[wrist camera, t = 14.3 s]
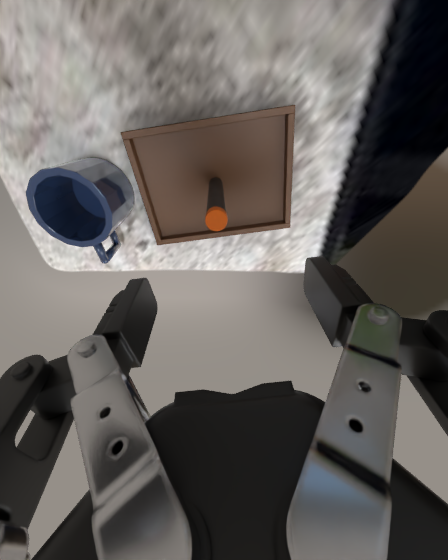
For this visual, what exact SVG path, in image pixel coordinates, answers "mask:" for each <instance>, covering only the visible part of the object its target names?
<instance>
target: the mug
mask: <svg viewBox="0 0 448 560" xmlns="http://www.w3.org/2000/svg"><path fill="white" fill-rule="evenodd" d="M26 197H27V201H28V206H29V210H30V211H31V213H32V214H33V216H34V218H35V219H36V221H37V222H38V224H39V225H40V226H41V227H42V228H43V229H45V230H46V231H47V232H48V233H49V234H50V235H51V236H53V237H55V238H57V239H59V240H61V241H62V242H64V243H66V244H69V245H74V246H79V247H88V246H93V247H94V249H95V251H96V252H97V254H98V256H99V258H100V260H101V262H102V263H108V262H109V261H110V259H111V258H112V257H113V255H114V254H115V253H116V251H117V250H118V249H119V248H120V246H121V243H120V241H119V238H118V236H117V234H116V231H115V229H116V228H117V227H118V226H119V225H120V224H121V223H122V222H123V221H124V220H125V218H126V217H127V216H128V215H129V213H130V212H131V210H132V208H133V204H134V193H133V189H132V186H131V184H130V182H129V180H128V179H127V177H126V176H125V174H124V173H123V172H122V171H121V170H120V169H119V168H118V167H116V166H115V165H114V164H112V163H110V162H108V161H106V160H104V159H100V158H94V157H90V158H84V159H78V160H75V161H71V162H67V163H64V164H60V165H56V166H52V167H49V168H45V169H41V170H40V171H38V172H37V173H36V174H35V175H34V176H32V177H31V178H30V180H29V183H28V187H27V190H26ZM109 236H110V238H111V241H112V243H113V244H112V245H111V246H110V248H109V249H108V250H107V251H105V249H104V247H103V245H102V243H101V242H102V241H104V240H105V239H107V238H108V237H109Z"/></svg>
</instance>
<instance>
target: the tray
mask: <svg viewBox="0 0 448 560" xmlns="http://www.w3.org/2000/svg"><path fill="white" fill-rule="evenodd" d="M294 119H295V105H290V106H284V107H278V108H271V109H265V110H259V111H252V112H246V113H240V114H233V115H227V116H221V117H215V118H208V119H202V120H196V121H189V122H183V123H177V124H170V125H164V126H158V127H151V128H145V129H139V130H132V131H126V132H121V136H122V139H123V142H124V145H125V148H126V151H127V154H128V157H129V160H130V163H131V166H132V169H133V172H134V175H135V178H136V181H137V184H138V187H139V190H140V193H141V196H142V199H143V203H144V206H145V209H146V212H147V215H148V218H149V221H150V224H151V227H152V230H153V233H154V236H155V239H156V242H157V245H163V244H170V243H178V242H185V241H193V240H200V239H208V238H215V237H223V236H230V235H238V234H246V233H253V232H261V231H268V230H276V229H283V228H290V215H291V191H292V167H293V143H294ZM215 177H217V178H219V179H221V181H222V183H223V191H224V199H225V207H226V213H227V219H228V222H227V225H226V227H225V228H224V229H222V230H220V231H213V230H211V229H209V228H208V227H207V225H206V223H205V216H206V211H207V201H208V190H209V182H210V180H211V179H212V178H215Z"/></svg>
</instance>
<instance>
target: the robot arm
mask: <svg viewBox="0 0 448 560" xmlns="http://www.w3.org/2000/svg"><path fill="white" fill-rule="evenodd" d="M304 292H305V295H306V297H307V299H308V301H309V303H310V305H311V307H312V308H313V310H314V312H315V314H316V316H317V318H318V320H319V322H320V324H321V326H322V328H323V330H324V332H325V334H326V335H327V337H328V339H329V341H330V343H331V345H332V346H333V347H338V346H343V348H344V349H343V352H342V355H341V358H340V361H339V364H338V367H337V370H336V373H335V376H334V379H333V381H332V385H331V388H330V390H329V393H328V397H327V400H326V402H324V401H322V400H321V399H318V398H317V397H315V396H312V395H310V394H308V393H305V392H301V391H297V390H294V388H293V385H292V382H291V381H283V382H274V383H264V384H260V385H257V386H255V387H252V388H249V389H247V390H244V391H241V392H239V393H236V394H227V393H221V392H215V391H209V390H195V391H185V392H176V393H175V400H174V402H173V403H171V404H169V405H167V406H165V407H163V408H162V409H160V410H158V411H157V412H156V413H155V414H153V415H152V416H151V415H150V414H149V412H148V410H147V408H146V406H145V405H144V403H143V401H142V399H141V397H140V395H139V393H138V391H137V389H136V387H135V385H134V383H133V381H132V379H131V377H130V376H129V372H130V369H131V368H134V367H141V364H142V361H143V358H144V354H145V351H146V347H147V344H148V341H149V338H150V334H151V331H152V328H153V324H154V321H155V317H156V314H157V302H156V299H155V296H154V294H153V291H152V289H151V286H150V284H149V281H148V279H147V278H140V279H132V280H130V281H129V283H128V285H127V286H126V289H125V290H122V291H120V292H119V293H118V294H117V295H116V296H115V297H114V298H113V300H112V301H111V303H110V305H109V306H110V307H108V309H107V310H106V313H105V314H104V316H103V317H102V319H101V321H100V323H99V324H98V326H97V328H96V330H95V331H94V333H93V335H91V336H88V337H85V338H84V339H82V340H80V341H79V342H77V343H76V344H75V345H74V346H73V347H72V348H71V349H70V351H69V353H68V355H66V356H63V357H60V358H57V359H54V360H52V361H49V362H48V361H47V360H46V359H45V358H44V357H43V356H41V355H32V356H29V357H26V358H24V359H22V360H20V361H18V362H17V363H15V364H14V365H12V366H11V367H10V368H9V369H8V370H7V371H6V372H5V373H4V374H3V375H2V377H1V379H0V560H30V554H29V552H28V545H29V534H28V531H27V530H28V527H29V524H30V522H31V520H32V518H33V515H34V513H35V510H36V508H37V506H38V503H39V501H40V498H41V496H42V494H43V491H44V489H45V486H46V484H47V482H48V479H49V477H50V474H51V472H52V470H53V467H54V465H55V463H56V460H57V458H58V455H59V453H60V451H61V448H62V446H63V444H64V441H65V439H66V436H67V434H68V431H69V429H70V427H71V425H72V422H73V420H74V421H75V425H76V429H77V434H78V439H79V443H80V447H81V452H82V457H83V461H84V465H85V470H86V474H87V479H88V483H89V488H90V489H89V491H88V492H87V493H86V494H85V495H84V497H83V498H82V499H81V500H80V502H79V503H78V504H77V505H76V506H75V508H74V509H73V510H72V511H71V512H70V513H69V515H68V516H67V517H66V518H65V519H64V521H63V522H62V523H61V524H60V526H59V527H58V528H57V529H56V530H55V532H54V533H53V534H52V535H51V536H50V538H49V539H48V540H47V541H46V543H45V544H44V545H43V546H42V547H41V548H40V550H39V551H38V552H37V554H36V555H35V556H34V557H33V558H32V559H31V560H448V504H447V503H446V502H445V501H443V500H442V499H441V498H440V497H439V496H437V495H436V494H435V493H434V492H433V491H431V490H430V489H429V488H428V487H426V486H425V485H424V484H423V483H422V482H421V481H420V480H418V479H417V478H416V477H415V476H413V475H412V474H411V473H410V472H409V471H407V470H406V469H405V468H404V467H403V466H401V465H400V464H399V463H398V462H397V461H396V460H394V459H393V458H392V457H393V447H394V438H395V428H396V419H397V409H398V399H399V390H400V380H401V374H402V375H407V377H408V378H409V380H410V381H411V383H412V384H413V386H414V387H415V389H416V390H417V391H418V393H419V394H420V396H421V397H422V399H423V400H424V402H425V403H426V405H427V406H428V407H429V409H430V411H431V412H432V413H433V415H434V416H435V418H436V419H437V421H438V422H439V424H440V425H441V427H442V428H443V430H444V431H445V433H446V434H447V435H448V311H446V310H439V311H435V312H433V313H431V314H430V316H429V317H428V319H427V320H418V319H409V318H402V317H400V315H399V314H398V313H397V312H396V311H394V310H393V309H391V308H389V307H387V306H385V305H381V304H376V303H373V301H372V300H371V299H370V298H369V296H368V295H367V294H366V293H365V292H364V291H363V290H362V288H361V287H360V286H359V285H358V284H356V282H355V281H354V279H353V278H351V276H350V275H349V274H348V273H347V272H346V270H344V269H343V268H341V267H339V266H337V265H331V264H330V263H329V262H328V260H327V259H326V258H325V257H324V256H319V257H311V258H307V259H306V264H305V274H304ZM30 410H32V411H33V412H34V413H35V416H34V417H33V419H32V421H31V423H30V425H29V426H28V428H27V430H26V432H25V434H24V435H23V437H22V439H21V441H20V442H19V444H18V446H17V448H16V446H15V436H16V433H17V432H18V430H19V428H20V426H21V425H22V423H23V421H24V419H25V417H26V416H27V414H28V412H29V411H30Z"/></svg>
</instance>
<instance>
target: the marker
mask: <svg viewBox="0 0 448 560" xmlns="http://www.w3.org/2000/svg"><path fill="white" fill-rule="evenodd" d="M227 222H228V219H227V213H226V207H225V199H224V191H223V183H222V181H221V179H219V178H217V177H215V178H212V179H211V180H210V182H209V190H208V201H207V211H206V216H205V223H206V225H207V227H208V228H209V229H211V230H213V231H220V230H222V229H224V228H225V227H226V225H227Z"/></svg>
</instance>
